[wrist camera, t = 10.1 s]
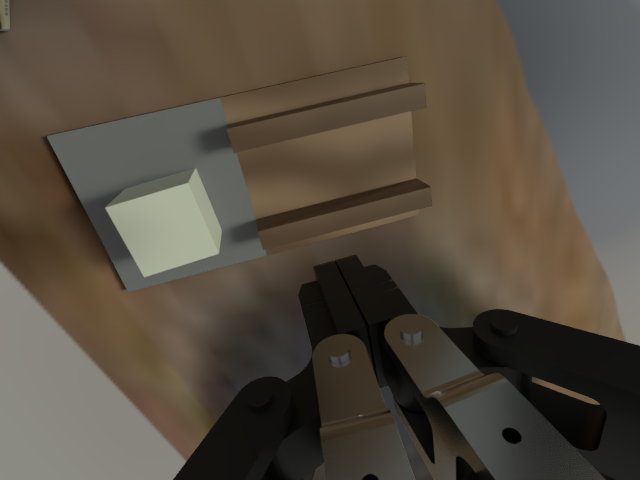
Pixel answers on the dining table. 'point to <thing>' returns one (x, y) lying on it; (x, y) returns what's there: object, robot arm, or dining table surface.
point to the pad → (157, 162)
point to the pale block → (166, 222)
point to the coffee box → (4, 15)
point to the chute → (329, 153)
